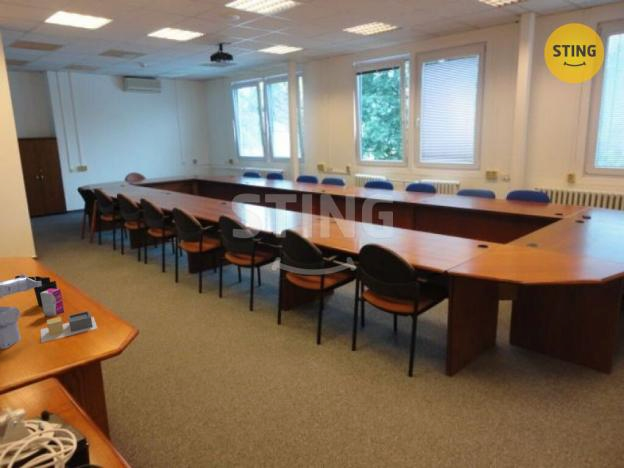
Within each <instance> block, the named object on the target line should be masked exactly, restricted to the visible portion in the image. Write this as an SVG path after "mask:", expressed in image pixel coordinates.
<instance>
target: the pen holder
mask: <svg viewBox="0 0 624 468" xmlns="http://www.w3.org/2000/svg"><path fill="white" fill-rule="evenodd" d="M48 289H58V285H57V281H56V280H52V281H50V282H49V283H48V284H46V285H44V286H43V287H42V289H40V290H35V288H33V290H34V293H35V298H36V301H37V304H38V306H39V307H43V305H42V300H41V294H40V293H41V292H43V291H46V290H48Z"/></svg>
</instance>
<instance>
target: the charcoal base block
mask: <svg viewBox="0 0 624 468" xmlns="http://www.w3.org/2000/svg"><path fill="white" fill-rule="evenodd" d="M91 317H92V316H91V314H90V311H89V310H85V311H81V312H77V313H73V314H69V315H67V320H68V323H69V325H70V329H71V332H73V331H77V330H81V329H85V328H89V327H93V325H92V320H91Z"/></svg>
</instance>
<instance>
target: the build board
mask: <svg viewBox="0 0 624 468" xmlns="http://www.w3.org/2000/svg"><path fill="white" fill-rule="evenodd" d="M91 320H92V325H93V327H89V328H85V329H81V330H77V331H73V332H71V329H70V325H69V322H65V323H62V325H63V330H64V332H63V333H60V334H56V335H52V336H50V335H49V330H48V327H44V328H40V342H41V344H42V343H45V342H49V341H53V340H57V339H60V338H65V337H69V336H72V335H76V334H81V333H85V332H88V331H93V330H97V329H98V325H97V323H96V321H95V317H94V316H91Z"/></svg>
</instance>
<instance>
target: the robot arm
mask: <svg viewBox="0 0 624 468" xmlns="http://www.w3.org/2000/svg"><path fill="white" fill-rule="evenodd" d="M49 282H51V278H50V277H49V276H48V277H47V276H44V277H43V276H37V275H36V276H26V274H25V273H21V274H20V275H16V276H15V277H14V278H12V279H7V280H3V281H0V300H1V299H3V297H6V296H9V295H14V294H17V293H21V292H22V293H23V292H27V291H30V290H32V289H34V288H35V290H40V289H42V287H43V286H44V285H46V284H48V283H49ZM20 315H21V311H20V309H19V308H18V307H16V306H0V349H4V350H5V349H8V348H10V347H11V346H13V345H15V344H17V343H19V342H20V341H21V340H22V339H21V333H20V330H19V325H18V321H19V318H20Z"/></svg>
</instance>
